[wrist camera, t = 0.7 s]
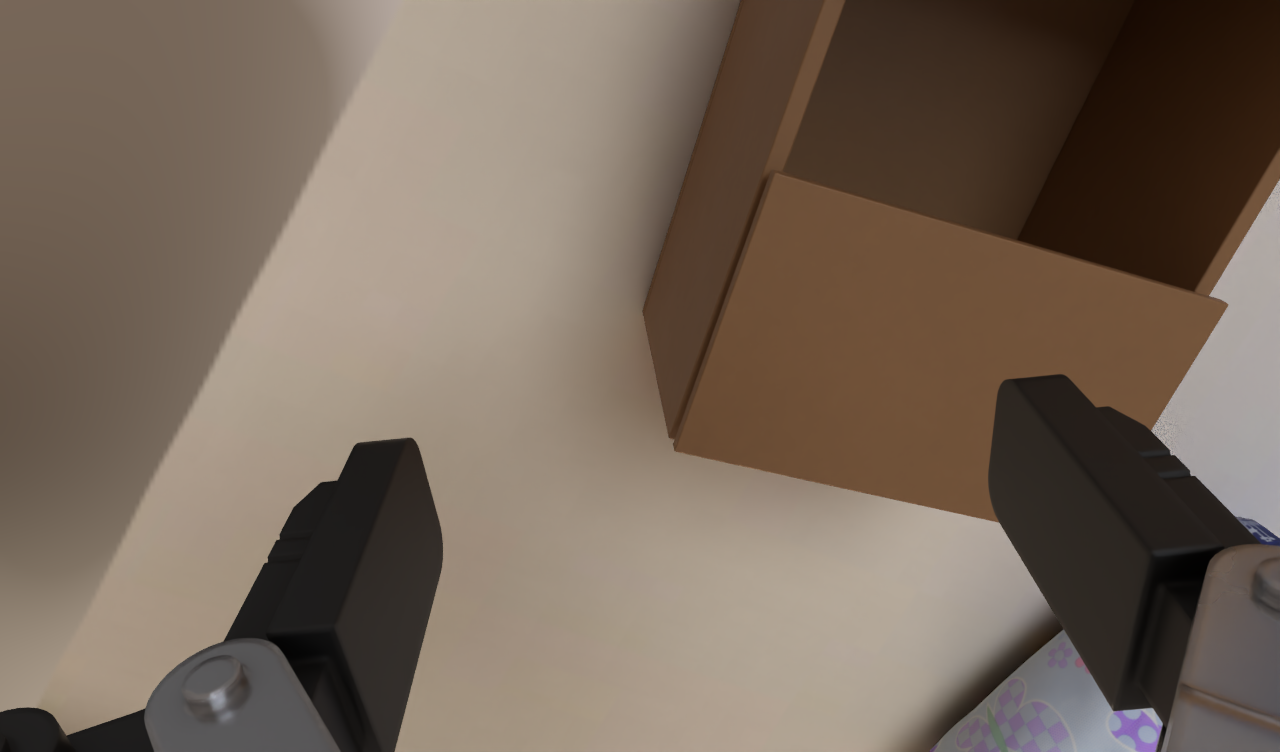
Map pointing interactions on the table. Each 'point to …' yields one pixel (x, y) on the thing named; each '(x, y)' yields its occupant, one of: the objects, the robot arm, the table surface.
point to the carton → (953, 225)
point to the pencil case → (1059, 706)
